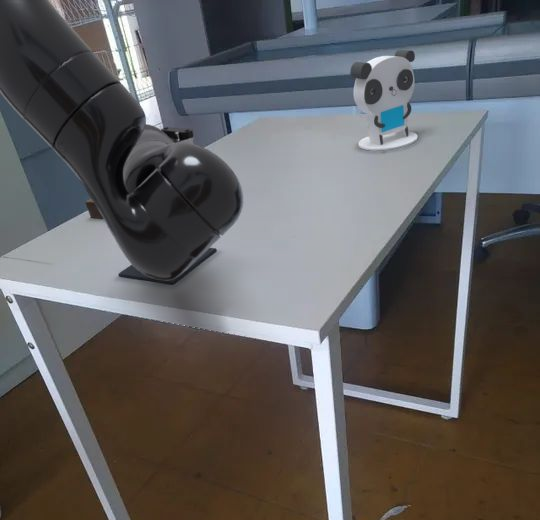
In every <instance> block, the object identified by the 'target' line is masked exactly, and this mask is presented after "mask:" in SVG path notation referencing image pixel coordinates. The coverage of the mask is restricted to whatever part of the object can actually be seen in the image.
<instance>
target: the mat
mask: <svg viewBox="0 0 540 520" xmlns="http://www.w3.org/2000/svg"><path fill="white" fill-rule="evenodd" d="M216 252H217V248H215V247H210V248H209V249H208V250H207V251H206V252H205V253H204V254H203V255H202V256H201V257H200V258H198V259H197V260H196V261H195V262H194V263H193V264H192V265H191V266H190V267H189V268H188V269H187V270H186V271H185V272H184V273H183V274H181V275H180V276H178V277H177V278H175V279H172V280H158V279H155V278H152V277H149V276H147V275H145V274H143V273H142V272H140V271H139V270H138V269H136V268H135V267H134V266H133V265H132V264H130V265H129V266H127V267H126V268H124V269H123V270H121V271H120V272H119V273H118V275H117V276H118V277H121V278H122V277H123V278H129V279H134V280H135V279H137V280H141V281H142V280H143V281H149V282H155V283H161V284H162V283H163V284H168V285H174V284H176V283H177V282H178V281H180V280H181V279H182V278H183V277H184V276H186V275H187V274H188V273H190V272H191V271H193V270H194V269H195V268H197V266H200V264H201V263H203V262H204V261H205V260H207V259H208V258H209V257H211V256H212V255H213V254H214V253H216Z"/></svg>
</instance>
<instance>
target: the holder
mask: <svg viewBox="0 0 540 520" xmlns="http://www.w3.org/2000/svg"><path fill="white" fill-rule="evenodd" d="M84 203H85V206H86V208H87V211H88V213H89V217H90V218H91V219H103V220H104V218H103V217H102V215H101V213H100V211H99V210H98V208H97V206H96V205H95V203H94V201H93V200H92V198H90V199H87V200H86V201H84Z"/></svg>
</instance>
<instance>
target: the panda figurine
mask: <svg viewBox="0 0 540 520" xmlns="http://www.w3.org/2000/svg"><path fill="white" fill-rule="evenodd" d="M415 60H416V54H415V52H414V51H413V50H407V49H398V50H396V51H395V53H394V55H381V56H377V57H375V58H374V57H373V58H372V59H370V60H368V61H367V62H363V61H355V62H353V63H352V65H351V67H350V76H351V78H352V79H355V81H354V85H353V90H352V91H353V92H352V93H353V94H352V95H353V101H354V103H355V105H356V107H357V108H358V109H359V110H360V111H361V112H362V113H364V114H365V116H366V124H367V130H368V136H366V137H364V138H362V139H360V140H359V141H358V147H359V148H360V149H362V150H365V151H373V152H374V151H375V152H378V151H391V150H395V149H400V148H401V149H402V148H404V147H408V146H410V145H412V144H414V143H416V142H417V141H418V139H419V137H418V134H417V133H416V132H414V131H409V125H408V117H409V116H410V114H411V112H412V105H411V104H410V100H411V98H412V96H413V93H414V89H415V74H414V70H413V66H412V64H411V63H413V62H414V61H415Z"/></svg>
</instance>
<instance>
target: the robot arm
mask: <svg viewBox="0 0 540 520" xmlns="http://www.w3.org/2000/svg"><path fill="white" fill-rule="evenodd" d="M0 94H1V96H2V97H3V98H4V100H5V101H6V102H7V103H8V104H9V106H10V107H11V108H12V109H13V110H14V111H15V112H16V113H17V114H18V115H19V116H20V118H22V120H24V121H25V122H26V123H27V124H28V126H29V127H31V128H32V130H33V131H34V132H35V133H36V134H37V135H38V136H39V137H41V139H43V141H44V142H45V143H46V144H47V145H48V146H49V147H50V148H51V149H52V150H53V151H54V152H55V153H56V155H58V157H59V158H60V159H61V160H62V161H63V162H64V163H65V165H67V167H68V168H69V169H70V170H71V172H72V173H73V174H74V175H75V176H76V178H77V179H78V181H79V182H80V183H81V184H82V186H83V188H84V189H85V191H86V192H87V193H88V195H89V197H90V199H92V200H93V201H94V203H95V205H96V206H97V208H98V210H99V211H100V213H101V215H102V217H103V218H104V219H103V218H102V219H103V220H104V222H105V224H106V226H107V228H108V229H109V231H110V234H111V235H112V237H113V239H114V240H115V242H116V244H117V246H118V247H119V249H120V251H121V253H123V255H124V257H125V258H126V259H127V261H129V263H130V265H133V266H134V267H135V268H136V269H138V270H139V271H140V272H142V273H143V274H145V275H147V276H149V277H152V278H155V279H158V280H172V279H175V278H177V277H178V276H180V275H181V274H183V273H184V272H185V271H186V270H187V269H188V268H189V267H190V266H191V265H192V264H193V263H194V262H195V261H196V260H197V259H198V258H200V257H201V256H202V255H203V254H204V253H205V252H206V251H207V250H208V249H209V248H212V247H213V246H214V245H215V244H216V242H218V241H219V240H220V239H221V236H224V235H225V234H226V233H227V232H228V231H229V230H230V229H231V228H233V226H234V225H235V224H236V223H237V221H238V220H239V218H240V217H241V214H242V211H243V207H244V193H243V188H242V185H241V182H240V180H239V178H238V177H237V175H236V173H235V172H234V171H233V170H232V167H231V166H229V164H227V163H226V162H225V160H224V159H222V158H221V157H220V156H218V155H217V154H216V153H214V152H213V151H210V150H209V149H207V148H205V147H203V146H201V145H198V144H197V143H196V140H195V135H194V131H193V129H192V128H181V127H172V126H171V127H170V126H164V127H163V128H161V129H160V128H159V127H156V126H154V125H151V124H148V123H147V116H146V112H145V111H144V109H143V107H142V105H140V103H139V102H138V100H137V99H136V98H135V97H134V95H132V93H131V92H130V91H129V90H128V89H127V87H125V86H124V84H122V82H121V81H120V80H119V79H118V78H117V77H116V75H114V73H113V72H112V71H111V70H110V69H109V68H108V66H106V65H105V64H104V62H103V61H102V60H101V58H99V56H98V55H97V54H95V52H94V50H93V49H92V48H90V46H89V45H88V44H87V43H86V41H84V40H83V39H82V38H81V36H80V35H79V34H78V33H77V32H76V30H74V29H73V28H72V27H71V25H70V23H68V21H67V20H66V19H65V18H64V16H62V15H61V13H60V12H59V11H58V10H57V8H56V7H55V6H54V4H52V2H51V1H50V0H0Z"/></svg>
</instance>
